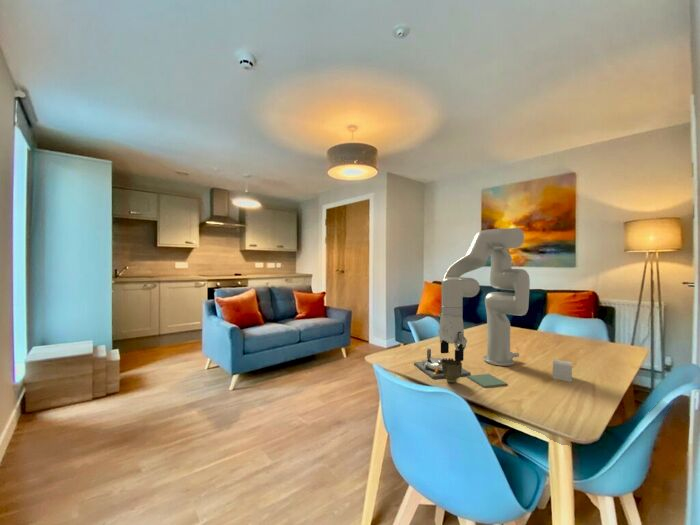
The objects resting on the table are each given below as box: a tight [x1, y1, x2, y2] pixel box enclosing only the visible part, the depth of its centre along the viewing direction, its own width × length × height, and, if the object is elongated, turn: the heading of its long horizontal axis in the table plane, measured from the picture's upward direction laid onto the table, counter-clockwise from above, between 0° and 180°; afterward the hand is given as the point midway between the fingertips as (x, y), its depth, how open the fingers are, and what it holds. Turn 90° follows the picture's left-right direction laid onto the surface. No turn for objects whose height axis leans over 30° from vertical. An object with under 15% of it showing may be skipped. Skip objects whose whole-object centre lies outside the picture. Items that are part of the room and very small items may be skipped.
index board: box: [413, 361, 471, 380], centre depth 127 cm, size 17×17×1 cm
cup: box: [441, 357, 463, 384], centre depth 113 cm, size 8×7×8 cm
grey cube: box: [552, 359, 573, 383], centre depth 118 cm, size 6×6×6 cm
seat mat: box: [466, 373, 508, 388], centre depth 115 cm, size 10×10×1 cm
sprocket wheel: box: [421, 348, 449, 372], centre depth 127 cm, size 15×15×6 cm
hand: (451, 356), depth 113 cm, fingers open, 9 cm apart
